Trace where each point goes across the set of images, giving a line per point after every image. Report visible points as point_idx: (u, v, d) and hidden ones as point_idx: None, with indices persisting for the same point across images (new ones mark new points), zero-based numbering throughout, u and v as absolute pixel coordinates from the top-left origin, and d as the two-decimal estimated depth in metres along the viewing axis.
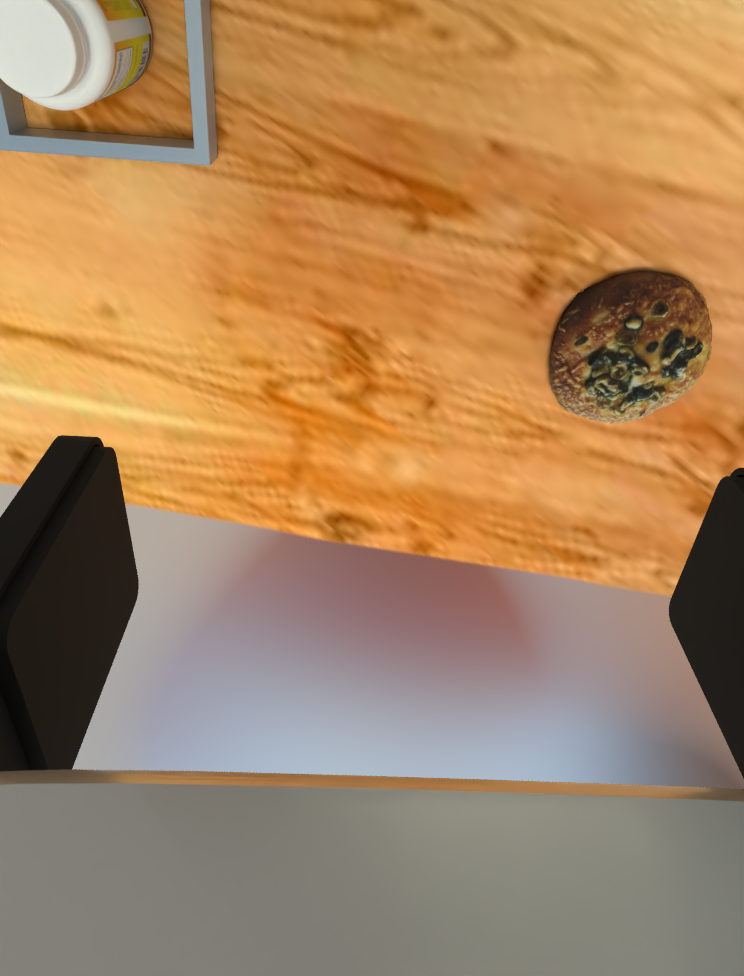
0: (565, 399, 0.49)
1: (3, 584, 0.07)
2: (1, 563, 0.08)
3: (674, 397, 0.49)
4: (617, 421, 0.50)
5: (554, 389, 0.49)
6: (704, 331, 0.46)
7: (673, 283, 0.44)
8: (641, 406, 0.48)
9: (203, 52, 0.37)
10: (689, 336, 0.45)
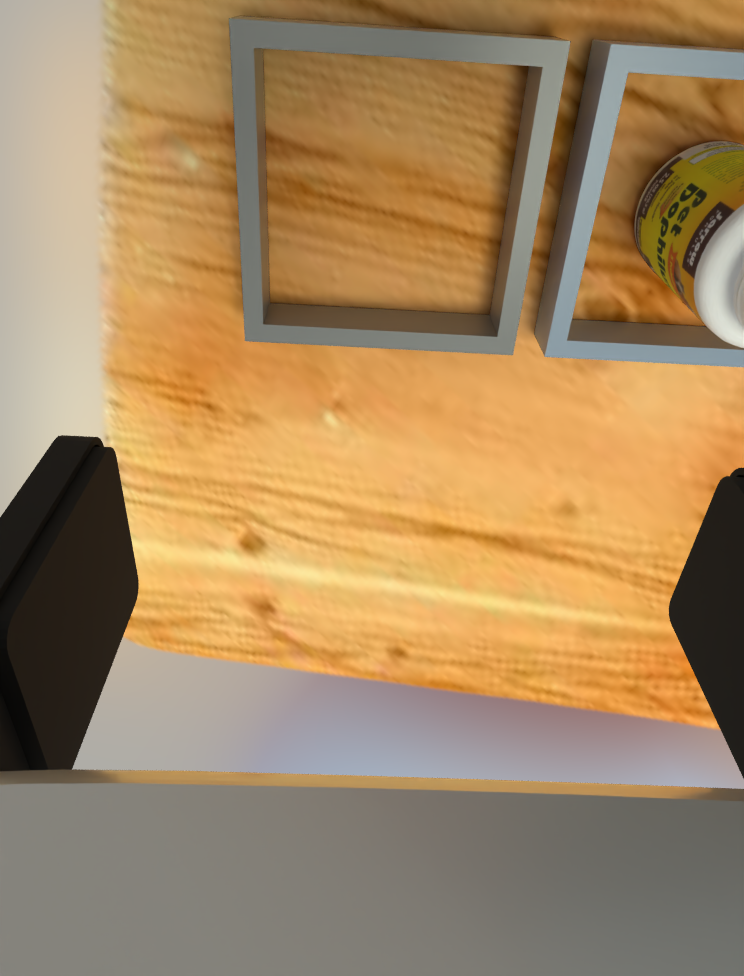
0: None
1: (3, 584, 0.07)
2: (1, 563, 0.08)
3: None
4: None
5: None
6: None
7: None
8: None
9: None
10: None
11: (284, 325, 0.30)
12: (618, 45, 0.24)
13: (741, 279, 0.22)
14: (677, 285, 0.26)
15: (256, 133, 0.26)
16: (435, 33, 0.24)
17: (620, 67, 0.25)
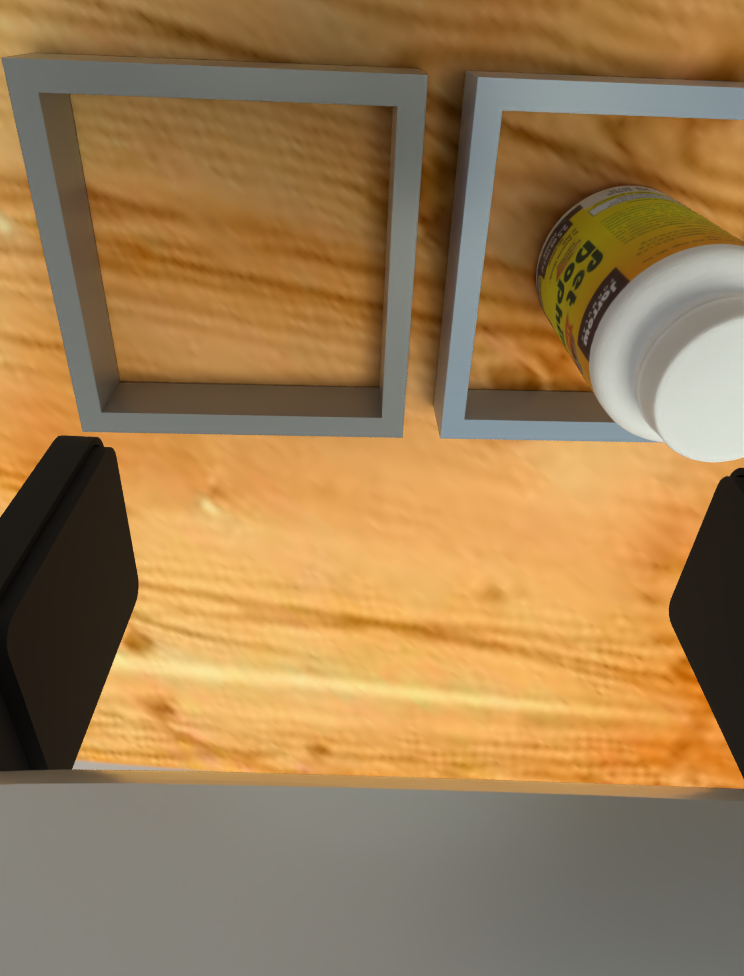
0: None
1: (3, 584, 0.07)
2: (1, 563, 0.08)
3: None
4: None
5: None
6: None
7: None
8: None
9: None
10: None
11: (127, 412, 0.25)
12: (487, 78, 0.20)
13: (640, 368, 0.18)
14: (576, 363, 0.21)
15: (58, 193, 0.21)
16: (260, 69, 0.20)
17: (492, 104, 0.20)
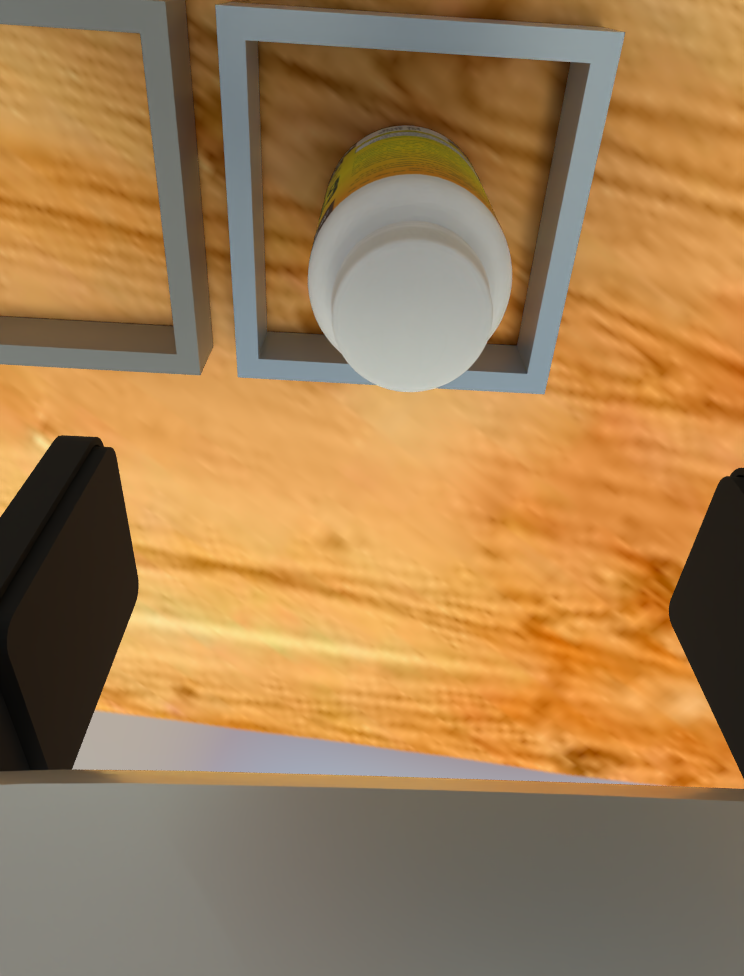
0: None
1: (3, 584, 0.07)
2: (1, 563, 0.08)
3: None
4: None
5: None
6: None
7: None
8: None
9: (575, 250, 0.24)
10: None
11: None
12: (224, 6, 0.20)
13: (333, 296, 0.18)
14: None
15: None
16: None
17: (233, 34, 0.20)
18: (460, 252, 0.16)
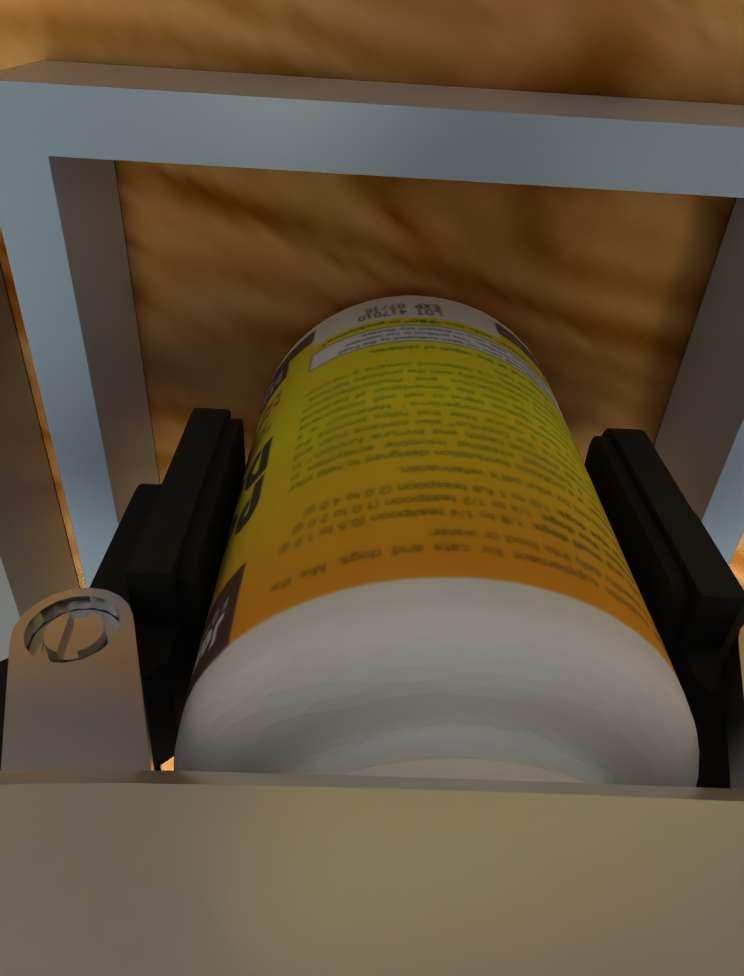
0: None
1: (185, 533, 0.08)
2: (177, 516, 0.09)
3: None
4: None
5: None
6: None
7: None
8: None
9: (740, 528, 0.12)
10: None
11: None
12: None
13: None
14: None
15: None
16: None
17: (19, 143, 0.09)
18: None
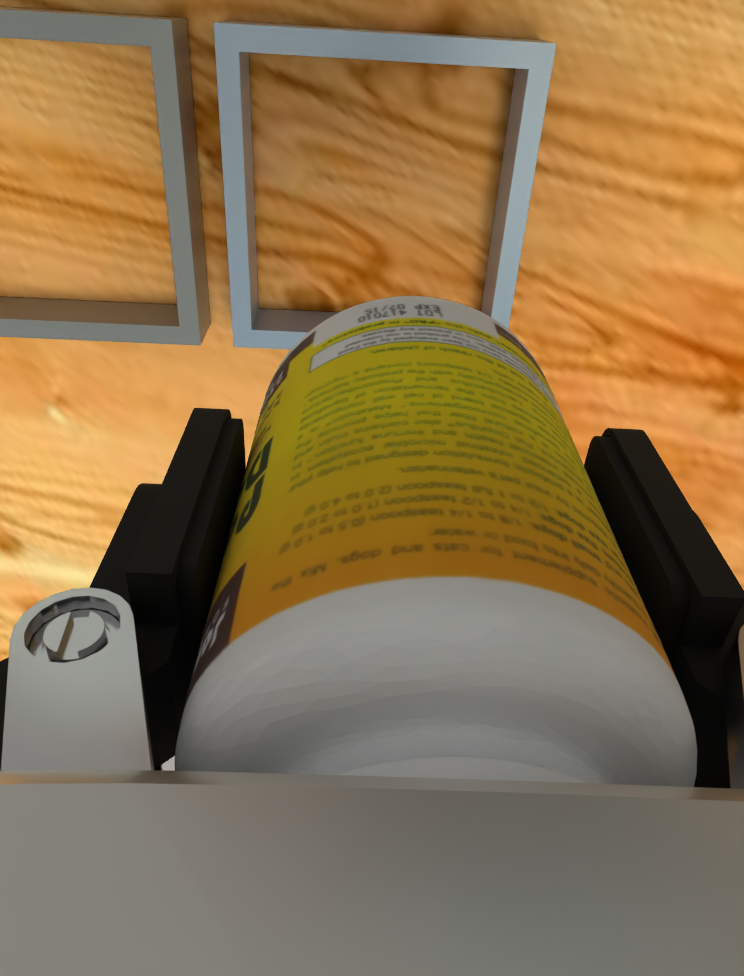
0: None
1: (185, 533, 0.08)
2: (177, 516, 0.09)
3: None
4: None
5: None
6: None
7: None
8: None
9: (524, 229, 0.28)
10: None
11: None
12: (221, 24, 0.24)
13: None
14: None
15: None
16: (30, 12, 0.24)
17: (229, 46, 0.24)
18: None
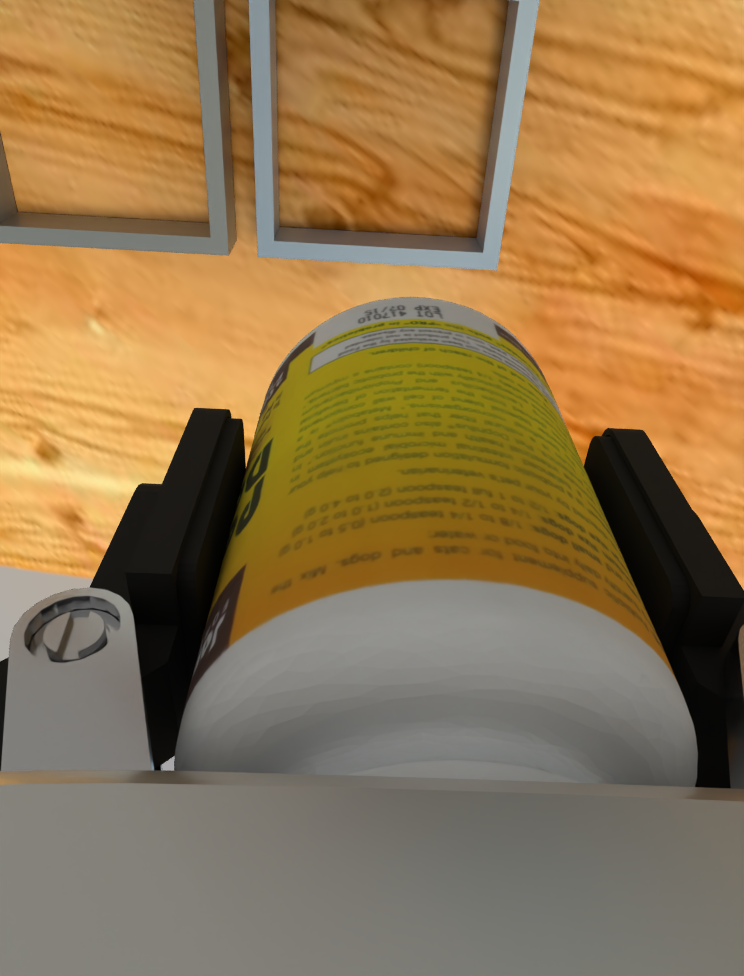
0: None
1: (185, 533, 0.08)
2: (177, 516, 0.09)
3: None
4: None
5: None
6: None
7: None
8: None
9: (515, 149, 0.32)
10: None
11: (15, 226, 0.33)
12: None
13: None
14: None
15: None
16: None
17: None
18: None
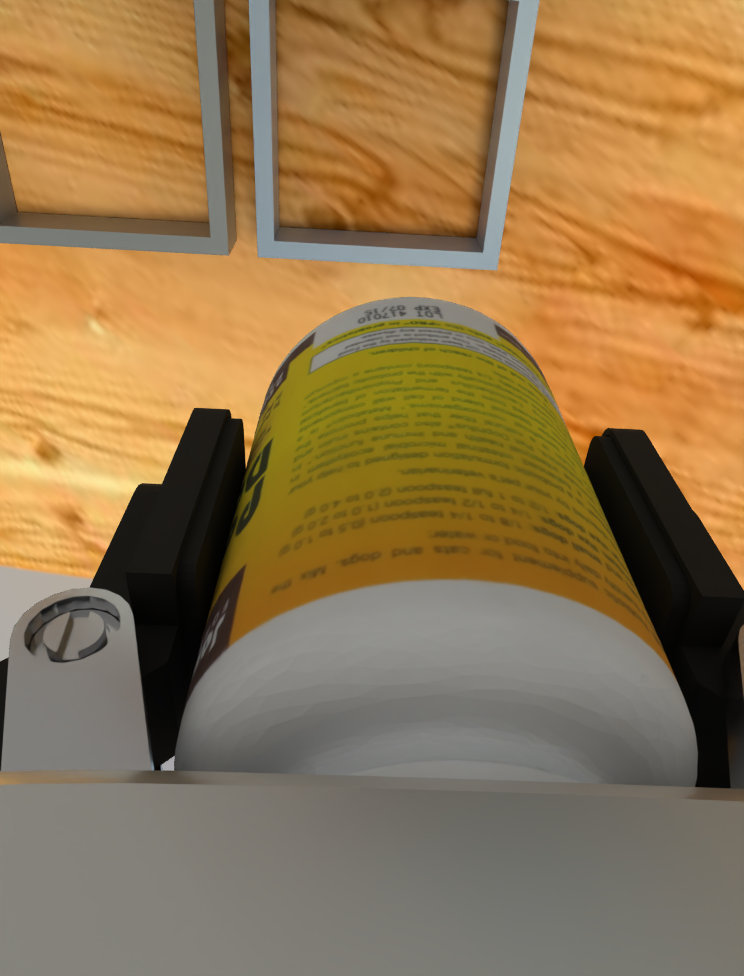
0: None
1: (185, 533, 0.08)
2: (177, 516, 0.09)
3: None
4: None
5: None
6: None
7: None
8: None
9: (515, 149, 0.32)
10: None
11: (15, 226, 0.33)
12: None
13: None
14: None
15: None
16: None
17: None
18: None
